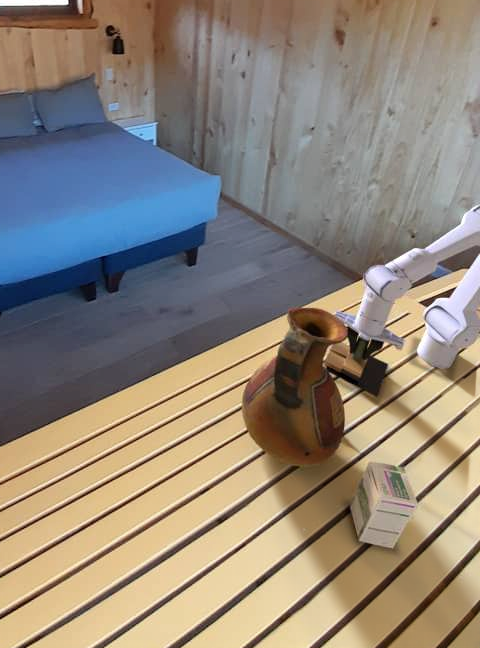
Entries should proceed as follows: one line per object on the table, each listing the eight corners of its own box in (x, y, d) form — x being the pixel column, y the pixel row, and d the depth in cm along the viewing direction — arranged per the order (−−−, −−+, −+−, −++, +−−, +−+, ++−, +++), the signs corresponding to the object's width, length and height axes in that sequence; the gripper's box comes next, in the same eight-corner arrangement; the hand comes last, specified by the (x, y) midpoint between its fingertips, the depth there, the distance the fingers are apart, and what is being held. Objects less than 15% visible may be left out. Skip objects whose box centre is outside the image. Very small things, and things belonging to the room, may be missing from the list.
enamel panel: (337, 344, 108) (338, 340, 107) (386, 367, 101) (387, 363, 101) (323, 374, 100) (325, 370, 99) (375, 401, 93) (377, 397, 93)
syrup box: (394, 549, 69) (422, 505, 62) (356, 541, 70) (380, 496, 63) (381, 511, 74) (406, 466, 67) (347, 504, 75) (368, 459, 68)
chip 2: (328, 354, 104) (329, 350, 103) (345, 362, 101) (346, 359, 101) (323, 363, 101) (324, 360, 100) (340, 372, 99) (341, 369, 98)
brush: (350, 349, 104) (360, 323, 100) (367, 358, 102) (378, 331, 98) (340, 372, 98) (350, 344, 94) (358, 381, 96) (369, 354, 92)
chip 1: (334, 342, 107) (335, 339, 106) (350, 350, 104) (351, 347, 104) (329, 351, 104) (330, 348, 104) (346, 360, 102) (347, 356, 101)
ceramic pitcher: (348, 425, 88) (388, 326, 74) (315, 502, 75) (355, 399, 62) (264, 374, 100) (284, 280, 86) (222, 433, 87) (239, 333, 74)
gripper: (334, 308, 94) (322, 349, 100) (407, 339, 85) (389, 381, 92) (343, 292, 98) (330, 332, 105) (412, 320, 90) (394, 361, 96)
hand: (358, 354), depth 98 cm, fingers closed on brush, 2 cm apart
